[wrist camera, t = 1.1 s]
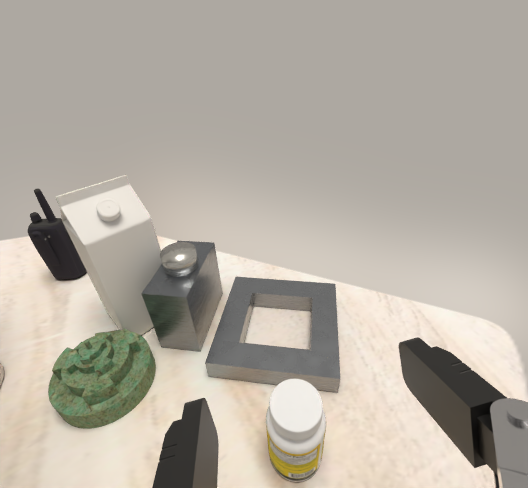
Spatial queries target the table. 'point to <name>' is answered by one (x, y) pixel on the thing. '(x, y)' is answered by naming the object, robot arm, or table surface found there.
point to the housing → (240, 319)
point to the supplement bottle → (295, 429)
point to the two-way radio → (54, 243)
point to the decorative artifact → (102, 378)
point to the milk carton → (114, 247)
